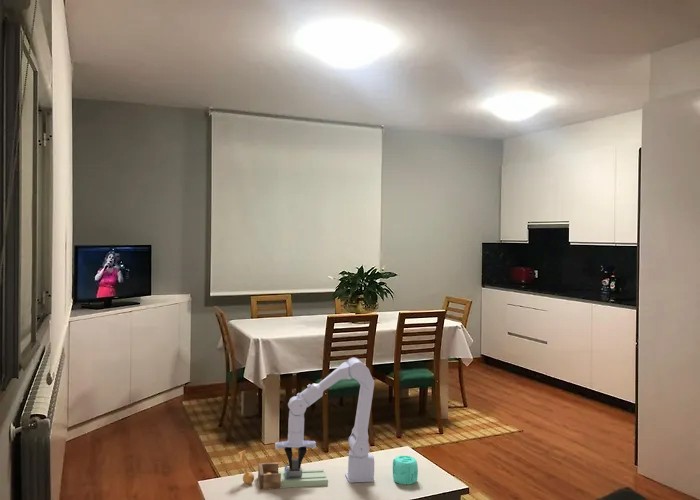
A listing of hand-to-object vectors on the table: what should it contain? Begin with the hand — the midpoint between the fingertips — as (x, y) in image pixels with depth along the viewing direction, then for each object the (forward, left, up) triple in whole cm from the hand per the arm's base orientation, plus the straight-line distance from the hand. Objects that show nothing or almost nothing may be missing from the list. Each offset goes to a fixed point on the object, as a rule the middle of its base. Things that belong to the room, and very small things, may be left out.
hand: (294, 467), depth 213 cm
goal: (+9, 0, -5) cm, 10 cm away
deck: (-3, 0, -5) cm, 6 cm away
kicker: (0, 0, -3) cm, 3 cm away
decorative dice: (-41, +4, -5) cm, 41 cm away
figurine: (+17, 0, -5) cm, 18 cm away
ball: (+9, 0, -3) cm, 10 cm away
